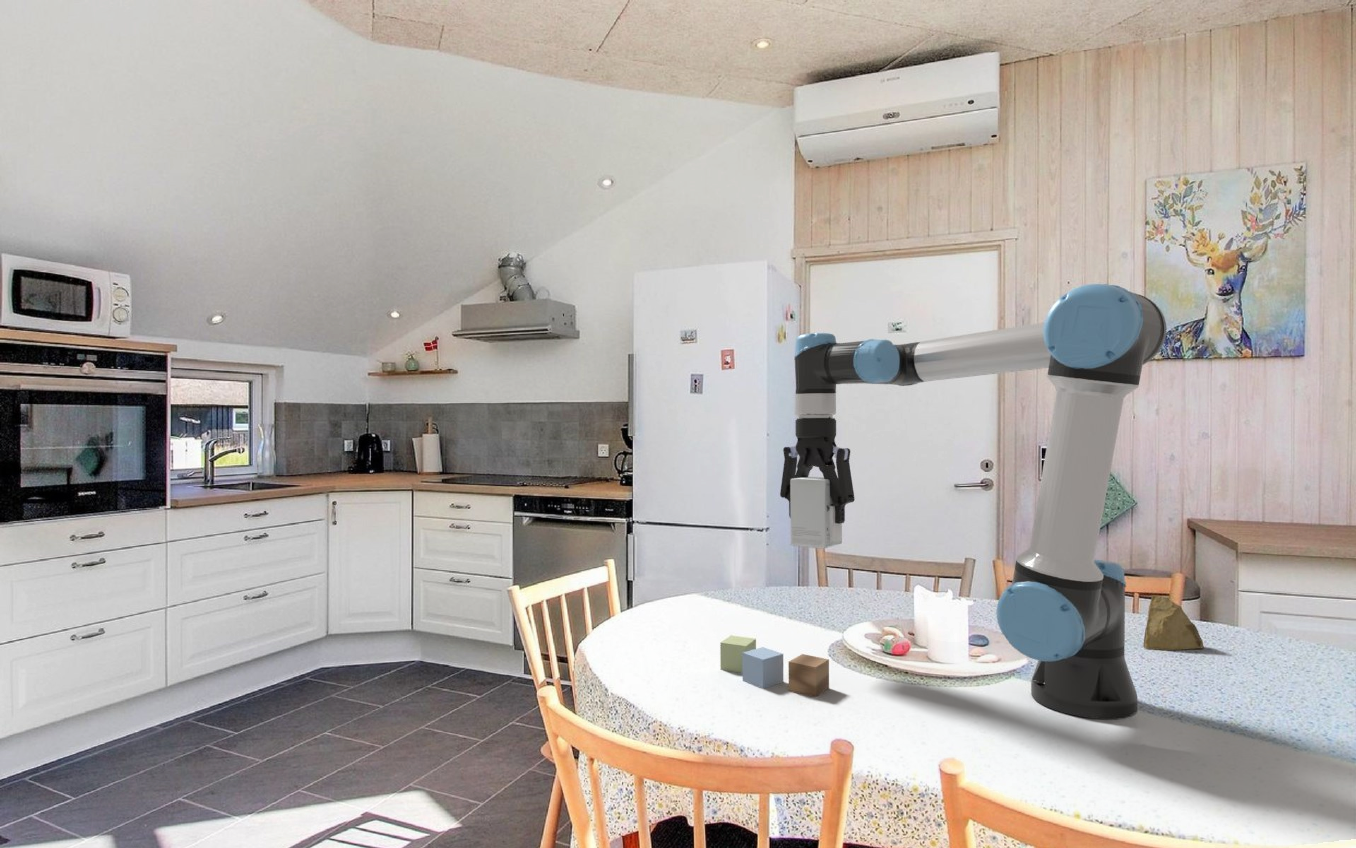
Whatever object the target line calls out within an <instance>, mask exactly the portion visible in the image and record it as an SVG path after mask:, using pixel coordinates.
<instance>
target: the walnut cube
mask: <svg viewBox="0 0 1356 848" xmlns="http://www.w3.org/2000/svg"><path fill="white" fill-rule="evenodd" d="M829 689H830V659H829V658H824V657H821V656H820V657H819V656H814V655H811V654H810V655H809V654H804V653H801V654H800V655H798V656H796V657H794V658H792V659H791V660H789V661H788V692H793V693H796V694H800V695H806V696H810V697H814V698H818V696H820V695H821V694H823V693H824V692H826V691H827V690H829Z"/></svg>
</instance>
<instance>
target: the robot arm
mask: <svg viewBox="0 0 1356 848" xmlns="http://www.w3.org/2000/svg"><path fill="white" fill-rule="evenodd" d="M1167 329H1168V328H1167V322H1166V318H1165V315H1164V313H1163V311H1162V310H1161V309H1160V308H1159V306H1158V305H1157V304H1156V303H1155V302H1154V301H1152V300H1151V299H1150V298H1148V297H1146V296H1144V295H1141V294H1138V293H1135V292H1132V291H1130V290H1128V289H1126V288H1124V287H1121V286H1119V285H1115V284H1107V283H1103V284H1102V283H1091V284H1089V283H1088V284H1085V285H1081V286H1077V287H1075V288H1073V289H1071V290H1069V291H1067V292H1066V293H1064V294H1063V295H1062V296H1061V297H1059V298H1057V300H1056V301H1055V302H1054V303H1053V305H1051V307H1050V308H1049V311H1048V312H1047V314H1046V316H1045V320H1044V322H1038V323H1033V324H1032V323H1031V324H1024V325H1020V326H1012V327H1007V328H999V329H994V330H987V331H981V332H975V333H967V334H962V335H955V336H948V337H941V338H936V339H929V340H923V341H922V340H921V341H914V342H909V343H902V344H894V343H893V342H892V341H891V340H888V339H874V338H870V339H867V340H860V341H858V340H857V341H850V342H837V341H836V340H837V339H836V336H835V335H834V333H830V332H829V333H828V332H816V333H815V332H813V333H804V334H803V333H802V334H800V335H799V336H797V337H796V340H795V349H794V351H795V352H794V368H795V369H794V371H795V393H794V394H795V395H794V396H795V397H794V399H795V400H794V401H795V402H794V405H795V407H794V408H795V409H794V411H795V412H794V414H795V415H796V416H798V418H796V419H795V437H796V438H797V441H796V444H795V445H794V446H785V447H783V450H782V451H783V457H784V462H783V469H782V477H781V486H780V492H779V496H780V497H781V498H782V499H783V498H784V499H785V500H787V501H788V510H789V511H788V515H789V519H791V479H794V478H803V477H809V475H810V472H811V471H812V470H813V468H814V467H816V468H818V469H819V471H820V472H821V473H822V477H824V479H828V480H829V482H830V496H831V499H832V502H833V504H831V505H832V506H829V531H830V542H836V541H841V540H842V539H843V530H842V529H843V524H844V523H845V522H846V518H845V517H846V515H845V514H846V510H845V509H846V505H848V504H850V503H854V502H855V492H854V486H853V485H854V484H853V480H852V473H851V471H852V470H851V465H850V457H851V449H850V448H846V447H845V448H843V447H838V446H837V444H836V441H835V439H836V437H837V419H836V418H835V417H833V415H836V414H837V385H842V384H843V385H845V384H847V385H848V384H850V385H852V384H856V385H857V384H866V385H867V384H870V385H896V386H899V387H900V386H901V387H904V386H905V387H907V386H914V385H918V384H920V383H925V382H933V381H945V380H953V379H962V378H971V377H972V378H973V377H980V376H988V375H990V376H991V375H996V374H997V375H998V374H1006V373H1013V372H1014V373H1015V372H1016V373H1017V372H1024V371H1032V370H1033V371H1034V370H1041V369H1042V370H1043V369H1048V370H1047V375H1046V377H1047V379H1048V380H1049V381H1050V383H1052V385H1053V386H1054V388H1055V390H1056V391H1055V397H1054V403H1053V408H1052V415H1051V419H1050V420H1051V421H1050V424H1049V425H1050V427H1049V432H1048V438H1047V443H1046V449H1045V455H1044V461H1043V467H1042V473H1041V478H1040V479H1041V480H1040V484H1039V490H1038V497H1037V501H1036V507H1035V508H1036V509H1035V514H1034V519H1033V526H1032V532H1031V538H1030V543H1029V547H1028V548H1027V550H1024V551H1022V552H1021V553H1019V554H1018V555H1017V556H1016V559H1015V564H1014V571H1013V574H1012V575H1013V576H1012V581H1011V585H1010V586H1008V587H1007V588H1006V589H1005V590H1004V591H1003V592H1002V594H1001V596H1000V597H999V599H998V601H997V605H996V611H995V612H996V619H997V620H996V622H997V624H998V628H999V630H1000V632H1001V634H1002V635H1003V636H1004V637H1005V639H1006V641H1008V643H1009V644H1010V645H1011V646H1012V648H1014V649H1015V650H1016V651H1017V652H1019V653H1021V654H1022V655H1023V656H1025V657H1028V658H1030V659H1032V660H1036V661H1037V662H1036V663H1037V664H1036V666H1035V669H1034V672H1033V674H1032V677H1031V682H1030V695H1031V697H1032V699H1033V700H1035V701H1036V702H1037V703H1039V704H1041V705H1043V706H1045V707H1046V708H1049V709H1052V710H1054V711H1057V712H1060V713H1064V714H1067V715H1072V716H1078V717H1083V718H1091V719H1104V720H1105V719H1106V720H1108V719H1109V720H1111V719H1122V718H1123V719H1125V718H1128V717H1132V716H1133V715H1135V714H1137V713H1138V694H1137V690H1136V687H1135V685H1134V682H1133V678H1132V676H1131V673H1130V671H1129V668H1128V664H1127V662H1126V659H1125V658H1126V657H1125V645H1126V644H1125V642H1126V641H1125V638H1126V637H1125V636H1126V635H1125V633H1126V632H1125V630H1126V629H1125V624H1126V621H1125V620H1126V619H1125V618H1126V617H1125V615H1126V610H1125V609H1126V608H1125V607H1126V587H1127V583H1126V579H1125V571H1124V568H1123V566H1122V565H1120V564H1119V563H1117V562H1113V561H1109V560H1099V559H1095V557H1096V552H1097V548H1098V543H1099V536H1100V530H1101V525H1102V520H1103V514H1104V510H1105V509H1104V508H1105V503H1106V497H1107V492H1108V486H1109V481H1110V474H1111V469H1112V466H1113V465H1112V464H1113V458H1114V454H1115V449H1116V442H1117V437H1118V432H1119V426H1120V421H1121V415H1122V409H1123V403H1124V398H1126V396H1128V394H1130V393H1132V392H1133V391H1135V390H1136V389H1139V386H1140V380H1141V374H1142V369H1143V366H1144V365H1145V364H1147V363H1148V362H1150V361H1151V360H1152V359H1154V358H1155V357H1156V356H1157V354H1158V353H1159V352H1160V351H1161V349H1162V348H1163V346H1164V344H1165V341H1166V337H1167ZM798 456H799V459H798ZM833 458H834V459H835V462H834V460H833Z"/></svg>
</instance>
